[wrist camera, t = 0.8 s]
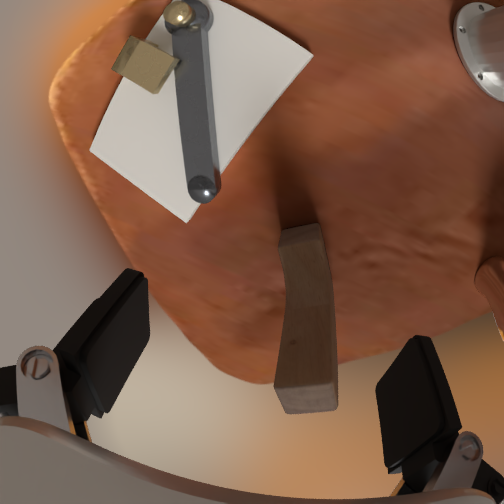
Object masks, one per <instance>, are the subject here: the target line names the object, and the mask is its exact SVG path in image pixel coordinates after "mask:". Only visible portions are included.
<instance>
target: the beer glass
mask: <svg viewBox="0 0 504 504" xmlns="http://www.w3.org/2000/svg"><path fill="white" fill-rule="evenodd" d="M475 287H476V289H477V290H478V292H479V293H480V294H482V295H483V296H484V297H485V298H486V300H487V301H488V303H489V305H490V307H491V309H492V312H493V315H494V318H495V321H496V324H497V327H498V329H499V332H500V335H501V337H502V339H503V341H504V259H503V258H501V257H499V256H495V257H491V258H489V259H488V260H486V261H485V262H484V263H483V264H482V265H481V266H480V268H479V269H478V271H477V273H476V276H475Z"/></svg>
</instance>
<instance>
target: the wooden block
mask: <svg viewBox="0 0 504 504" xmlns="http://www.w3.org/2000/svg"><path fill="white" fill-rule="evenodd" d="M278 251H279V255H280V259H281V263H282V267H283V271H284V278H285V287H286V308H285V315H284V322H283V329H282V336H281V343H280V349H279V356H278V362H277V368H276V374H275V381H274V389H275V391H276V393H277V396H278V398H279V400H280V402H281V404H282V406H283V408H284V411H285V413H287V414H302V413H316V412H327V411H334V410H336V409H337V407H338V364H337V339H336V321H335V306H334V293H333V284H332V279H331V273H330V269H329V264H328V259H327V254H326V249H325V245H324V240H323V236H322V231H321V227H320V225H319V223H314V224H309V225H304V226H299V227H294V228H289V229H285V230H283V231H282V232H281V236H280V241H279V245H278Z"/></svg>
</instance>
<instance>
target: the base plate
mask: <svg viewBox="0 0 504 504" xmlns="http://www.w3.org/2000/svg"><path fill="white" fill-rule="evenodd" d="M174 1H181V0H173V1H172V2H174ZM199 1H201V2H202V3H203V4H205V5H206V6H207V7H208V8H209V9H210V10H211V11H212V13H213V16H214V21H213V25H212V27H211V29H210V30H209V31H208V42H209V55H210V68H211V81H212V93H213V104H214V115H215V126H216V137H217V147H218V157H219V167H220V175H221V174H222V172H223V171H224V170H225V168H226V167H227V165H228V164H229V163H230V161H231V160H232V158H233V157H234V156H235V154H236V153H237V152H238V150H239V149H240V148H241V146H242V145H243V144H244V142H245V141H246V140H247V138H248V137H249V136H250V134H251V133H252V132H253V130H254V129H255V128H256V126H257V125H258V124H259V122H260V121H261V120H262V119H263V117H264V116H265V115H266V113H267V112H268V111H269V110H270V108H271V107H272V106H273V105H274V103H275V102H276V101H277V100H278V98H279V97H280V96H281V95H282V93H283V92H284V91H285V90H286V89H287V87H288V86H289V85H290V84H291V83H292V81H293V80H294V79H295V78H296V77H297V75H298V74H299V73H300V72H301V71H302V69H303V68H304V67H305V66H306V65H307V64H308V62H309V61H310V60H311V59H312V58H313V54H311V53H310V52H309V51H307V50H306V49H304V48H303V47H301V46H300V45H298V44H297V43H295V42H294V41H292V40H291V39H289V38H288V37H286V36H284V35H283V34H281V33H280V32H278V31H276V30H275V29H273V28H271V27H270V26H268V25H266V24H264V23H263V22H261V21H259V20H257V19H256V18H254V17H252V16H250V15H248V14H246V13H244V12H243V11H241V10H239V9H237V8H235V7H233V6H231V5H229V4H227V3H224V2H222V1H220V0H199ZM172 2H171V3H172ZM164 21H165V19H164V17H163V14H162V16H161V17H160V19H159V20H158V21H157V23H156V24H155V26H154V27H153V29H152V30H151V32H150V33H149V35H148V36H147V38H146V40H149V41H151V42H153V43H155V44H157V45H159V46H158V47H157V48H159V49H161V50H163V51H165V52H167V53H169V54H170V55H172V56H173V48H172V34H170V33H169V32H168V31H167V29H166V27H165V23H164ZM90 151H91V152H92V153H93V154H95V155H96V156H97V157H98V158H100V159H101V160H102V161H104V162H105V163H106V164H108V165H109V166H110V167H112V168H113V169H114V170H116V171H117V172H118V173H120V174H121V175H122V176H124V177H125V178H126V179H128V180H129V181H130V182H132V183H133V184H134V185H136V186H137V187H138V188H140V189H141V190H142V191H144V192H145V193H146V194H148V195H149V196H150V197H152V198H153V199H154V200H156V201H157V202H158V203H160V204H161V205H162V206H164V207H165V208H167V209H168V210H169V211H171V212H172V213H173V214H175V215H176V216H177V217H179V218H180V219H181V220H183V221H184V222H185V223H187V222H188V221H189V220H190V219H191V217H192V216H193V214H194V213H195V211H196V210H197V208H198V207H199V205H200V204H201V203H198V202H196V201H194V200H193V199H192V198H191V197H190V195H189V193H188V189H187V182H186V175H185V167H184V159H183V152H182V144H181V135H180V126H179V117H178V108H177V98H176V87H175V75H174V69H173V71H172V72H171V74H170V75H169V77H168V79H167V80H166V82H165V83H164V85H163V87H162V88H161V90H160V92H159V93H158V94H152V93H150V92H149V91H147V90H145V89H144V88H142V87H140V86H139V85H137V84H135V83H134V82H132V81H130V80H129V79H127V78H125V77H123V79H122V81H121V82H120V84H119V86H118V88H117V90H116V92H115V94H114V96H113V98H112V100H111V102H110V104H109V106H108V109H107V111H106V113H105V115H104V117H103V119H102V122H101V124H100V126H99V129H98V131H97V133H96V136H95V138H94V141H93V143H92V146H91V148H90Z"/></svg>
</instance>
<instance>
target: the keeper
mask: <svg viewBox="0 0 504 504" xmlns="http://www.w3.org/2000/svg"><path fill="white" fill-rule="evenodd" d="M163 17H164V19H165V20H166V21H167V22H169V23H171V24H173V25H175V26H178V27H186V26H188V25H190V24H191V23H192V22H193V21H194V20H195V17H196V12H195V10H194V9H193V8H192V7H191V6H189V5H188V4H186V3H185V2H183V1H174V2H172V3H170V4H169V5H168V6H167V7H166V8H165V10H164V12H163ZM158 46H159V45H157V44H155V43H153V42H151V41H149V40H146V39H142V38H139V37H135V36H131V35H130V37H129V39H128V40H127V42H126V44H125V45H124V47H123V49H122V50H121V52H120V54H119V56H118V57H117V59H116V61H115V63H114V65H113V67H112V68H111V69H112V70H113V71H115V72H117V73H119V74H120V75H122V76H124V77H125V78H127V79H129V80H130V81H132V82H134V83H135V84H137V85H139V86H140V87H142V88H144V89H145V90H147V91H149V92H150V93H152V94H158V93H159V92H160V90H161V88H162V87H163V85H164V83H165V82H166V80H167V79H168V77H169V75H170V74H171V72H172V71H173V69H174V68H175V66H176V65H177V63H178V62H179V60H180V59H178V58H176V57H174V56H172V55H170V54H169V53H167V52H165V51H163V50H161V49H159V48H157V47H158Z"/></svg>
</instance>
